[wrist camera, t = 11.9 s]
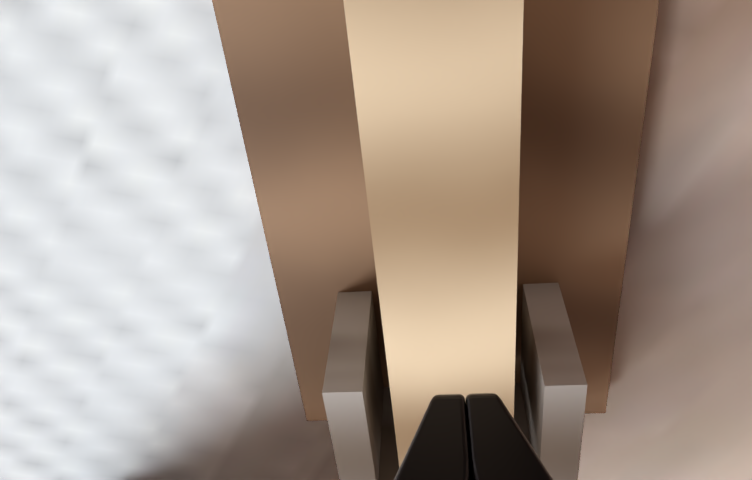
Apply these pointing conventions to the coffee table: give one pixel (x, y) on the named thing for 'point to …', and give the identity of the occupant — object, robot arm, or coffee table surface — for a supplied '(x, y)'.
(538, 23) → the end cap base
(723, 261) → the coffee table surface
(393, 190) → the birch slat
